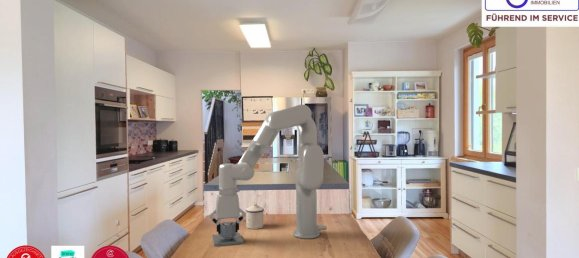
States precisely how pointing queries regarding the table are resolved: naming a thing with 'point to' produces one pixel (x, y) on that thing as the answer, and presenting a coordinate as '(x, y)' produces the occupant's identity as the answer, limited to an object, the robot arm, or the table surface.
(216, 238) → the shaft block
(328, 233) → the table surface
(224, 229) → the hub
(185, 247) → the table surface
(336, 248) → the table surface
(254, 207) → the teacup with lid
